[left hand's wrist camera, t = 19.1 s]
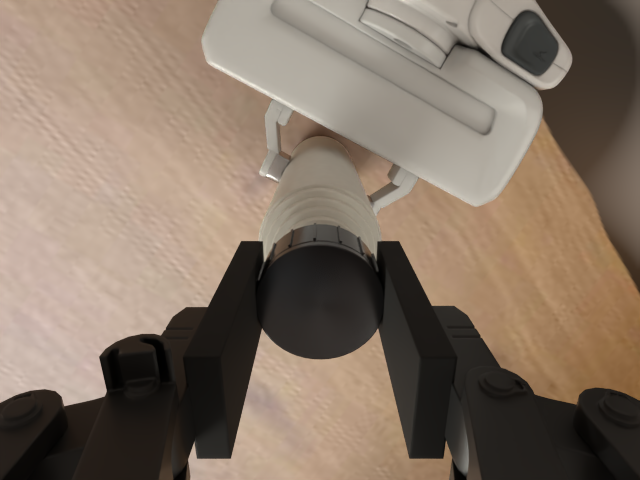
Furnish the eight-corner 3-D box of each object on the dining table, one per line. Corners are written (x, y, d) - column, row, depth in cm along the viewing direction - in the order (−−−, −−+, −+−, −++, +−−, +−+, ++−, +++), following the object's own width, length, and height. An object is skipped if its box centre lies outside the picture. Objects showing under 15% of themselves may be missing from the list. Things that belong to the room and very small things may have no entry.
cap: (246, 240, 14) (235, 264, 12) (362, 208, 14) (369, 228, 12) (282, 337, 16) (277, 372, 14) (389, 312, 15) (398, 344, 13)
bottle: (365, 160, 33) (435, 277, 13) (328, 211, 35) (339, 388, 15) (311, 122, 32) (296, 185, 12) (275, 177, 34) (208, 315, 14)
